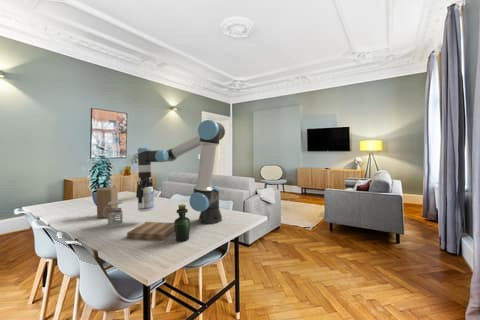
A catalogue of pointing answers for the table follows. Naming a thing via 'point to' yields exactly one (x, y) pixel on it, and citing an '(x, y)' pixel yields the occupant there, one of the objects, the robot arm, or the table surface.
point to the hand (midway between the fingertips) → (146, 205)
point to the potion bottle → (182, 224)
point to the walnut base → (151, 231)
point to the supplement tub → (147, 199)
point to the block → (106, 200)
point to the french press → (116, 212)
